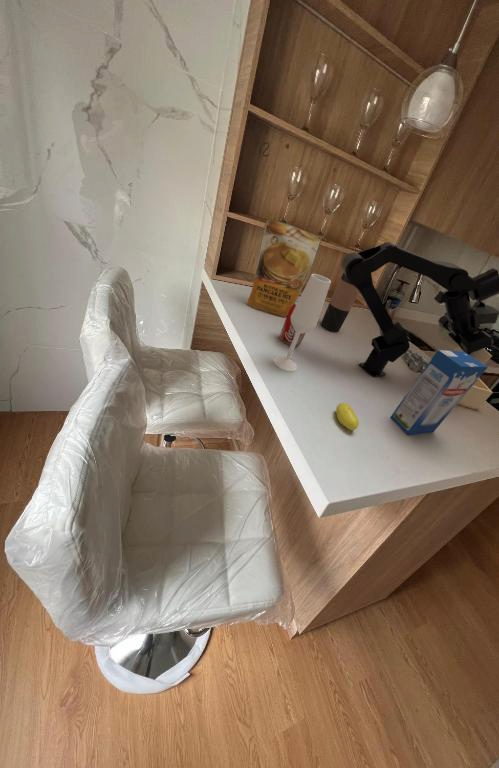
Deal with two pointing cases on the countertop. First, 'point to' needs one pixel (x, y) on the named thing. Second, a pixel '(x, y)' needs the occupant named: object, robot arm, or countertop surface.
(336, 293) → the travel mug
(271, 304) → the pancake mix bag
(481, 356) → the lid
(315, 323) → the champagne flute
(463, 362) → the milk carton
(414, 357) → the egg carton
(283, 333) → the soda can
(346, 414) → the lemon
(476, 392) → the cardboard box
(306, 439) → the countertop surface
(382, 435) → the countertop surface
